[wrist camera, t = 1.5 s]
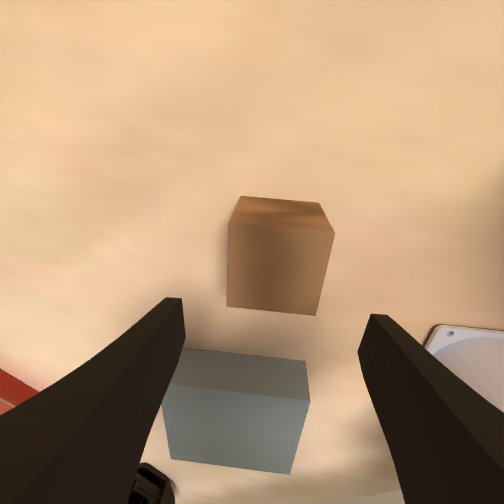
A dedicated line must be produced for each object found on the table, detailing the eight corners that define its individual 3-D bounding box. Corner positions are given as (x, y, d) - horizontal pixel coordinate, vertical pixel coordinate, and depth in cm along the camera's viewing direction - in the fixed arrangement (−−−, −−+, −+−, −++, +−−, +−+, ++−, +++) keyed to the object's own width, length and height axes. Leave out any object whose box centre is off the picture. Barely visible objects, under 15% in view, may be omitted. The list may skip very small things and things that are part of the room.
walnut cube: (318, 202, 16) (334, 233, 12) (305, 269, 19) (315, 315, 14) (241, 195, 16) (228, 223, 12) (237, 262, 19) (226, 306, 14)
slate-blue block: (304, 357, 23) (310, 400, 20) (287, 431, 29) (289, 474, 25) (175, 343, 24) (158, 382, 20) (183, 417, 29) (170, 458, 26)
